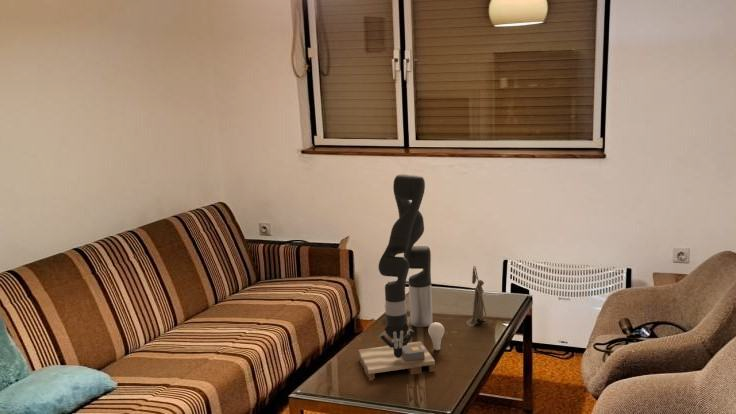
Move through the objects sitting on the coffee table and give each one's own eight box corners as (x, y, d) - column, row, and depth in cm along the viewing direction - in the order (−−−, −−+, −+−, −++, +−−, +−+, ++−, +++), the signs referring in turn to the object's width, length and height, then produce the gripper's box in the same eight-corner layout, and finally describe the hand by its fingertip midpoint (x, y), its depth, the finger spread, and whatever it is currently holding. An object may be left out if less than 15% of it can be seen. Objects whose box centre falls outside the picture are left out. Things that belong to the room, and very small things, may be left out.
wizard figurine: (484, 328, 290) (484, 269, 284) (464, 326, 293) (463, 267, 287) (490, 319, 299) (489, 262, 294) (470, 317, 302) (469, 260, 297)
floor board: (359, 359, 266) (358, 349, 266) (421, 351, 271) (420, 341, 270) (369, 380, 249) (368, 370, 248) (435, 371, 254) (434, 360, 253)
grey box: (401, 355, 259) (401, 347, 258) (419, 352, 260) (419, 344, 259) (405, 361, 253) (405, 353, 252) (424, 359, 254) (424, 351, 254)
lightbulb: (446, 347, 273) (445, 320, 271) (443, 354, 267) (442, 326, 265) (431, 346, 275) (430, 319, 273) (427, 352, 269) (426, 325, 267)
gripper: (411, 305, 256) (413, 350, 260) (375, 309, 254) (377, 355, 258) (417, 312, 249) (418, 358, 253) (380, 317, 247) (382, 363, 250)
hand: (398, 356), depth 255 cm, fingers closed
